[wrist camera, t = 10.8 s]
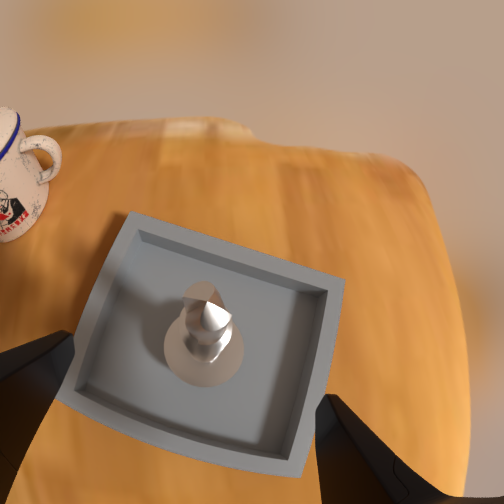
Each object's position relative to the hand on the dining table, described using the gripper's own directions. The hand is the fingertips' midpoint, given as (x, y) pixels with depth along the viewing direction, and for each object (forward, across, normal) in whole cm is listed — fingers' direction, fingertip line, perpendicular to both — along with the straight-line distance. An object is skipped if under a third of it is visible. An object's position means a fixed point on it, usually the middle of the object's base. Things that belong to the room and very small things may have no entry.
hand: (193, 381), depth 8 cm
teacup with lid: (+14, +20, 0) cm, 25 cm away
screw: (+8, 0, +6) cm, 10 cm away
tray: (+9, 0, +6) cm, 11 cm away
